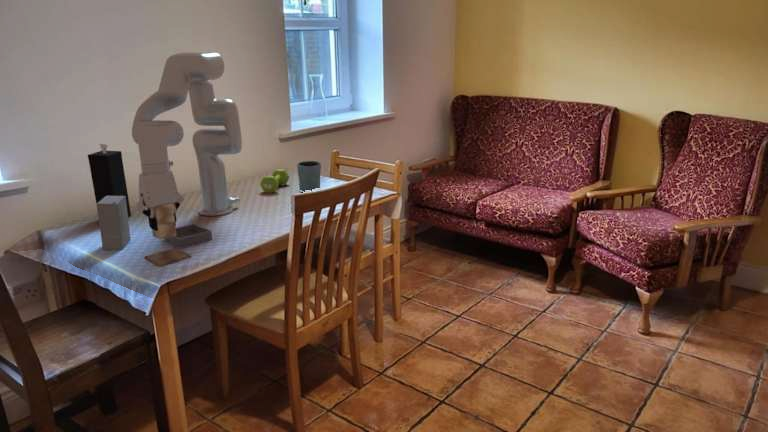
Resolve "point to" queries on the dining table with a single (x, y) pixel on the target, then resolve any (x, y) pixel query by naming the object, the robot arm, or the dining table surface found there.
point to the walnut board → (167, 256)
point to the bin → (200, 237)
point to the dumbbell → (274, 180)
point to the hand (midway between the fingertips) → (163, 226)
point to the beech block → (165, 222)
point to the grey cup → (309, 175)
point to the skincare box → (113, 222)
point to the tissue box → (108, 174)
